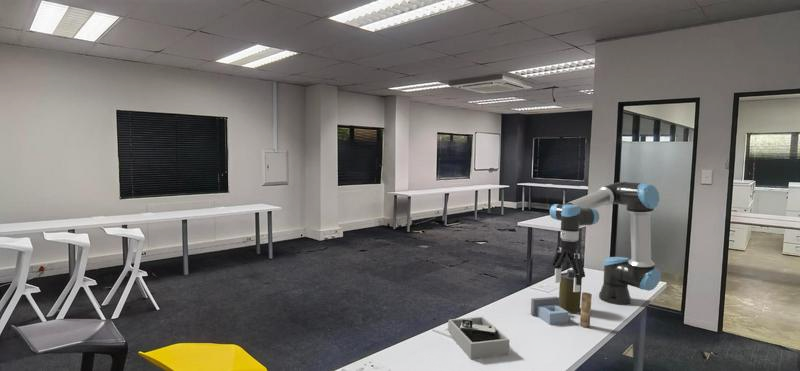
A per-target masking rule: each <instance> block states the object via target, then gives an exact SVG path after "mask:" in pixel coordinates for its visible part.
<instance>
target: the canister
mask: <svg viewBox="0 0 800 371" xmlns="http://www.w3.org/2000/svg"><path fill="white" fill-rule="evenodd" d="M574 277H575V274H574V271H573V269H567V271H566V272H561V282H560V283H559V288H558V289H559V292H558V293H559V294H558V298H559V307H561V308H563V309H564V310H566V311H568V312H569V314H572V315H573V314H578V313H581V300H582V283H583V282H582V281H583V277H582V278H581V285H580V292H573V288H574Z"/></svg>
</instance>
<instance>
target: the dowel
mask: <svg viewBox="0 0 800 371" xmlns="http://www.w3.org/2000/svg"><path fill="white" fill-rule="evenodd" d="M591 312H592V293H590V292H581V300H580V319H579V321H580V322H579V326H580V327H582V328H583V329H589V328H590V327H591Z"/></svg>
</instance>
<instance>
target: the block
mask: <svg viewBox="0 0 800 371" xmlns="http://www.w3.org/2000/svg"><path fill="white" fill-rule="evenodd" d="M569 316H570V313H569V312H568V311H566V310H564V309H563V308H561V307H559V306H557V305H556V304H553V305H542V306H537V316H536V317H538V318H539V319H540V320H542V321H543V322H545V323H546V324H548V325H559V324H567V323H569V319H570V318H569Z"/></svg>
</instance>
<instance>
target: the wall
mask: <svg viewBox="0 0 800 371" xmlns="http://www.w3.org/2000/svg"><path fill="white" fill-rule="evenodd" d="M530 300H531V301H530V316H532V317H538V316H537V306H542V305H553V304H556V305H557V306H559V296H548V297H547V296H545V297H535V298H530Z"/></svg>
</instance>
